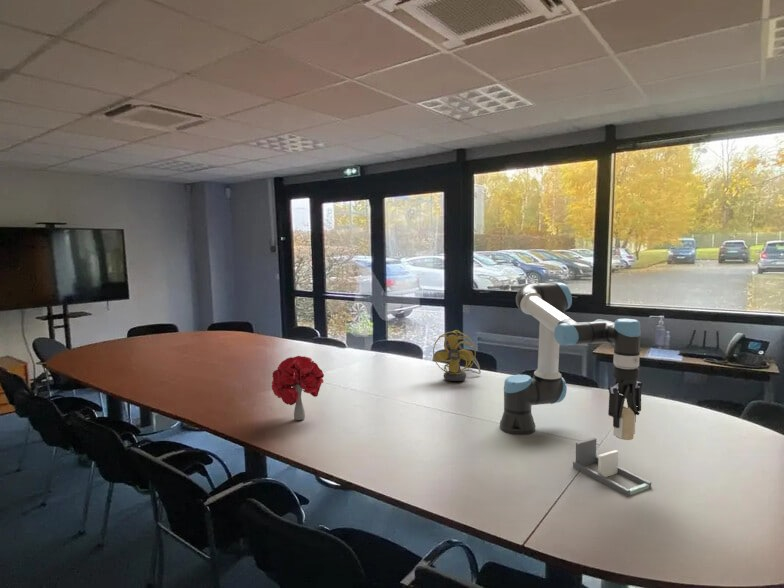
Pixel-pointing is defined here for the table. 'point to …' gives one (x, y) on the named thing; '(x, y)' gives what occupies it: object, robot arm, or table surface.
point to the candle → (627, 424)
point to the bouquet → (297, 382)
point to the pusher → (608, 463)
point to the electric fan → (455, 357)
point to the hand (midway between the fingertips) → (624, 434)
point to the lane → (588, 456)
